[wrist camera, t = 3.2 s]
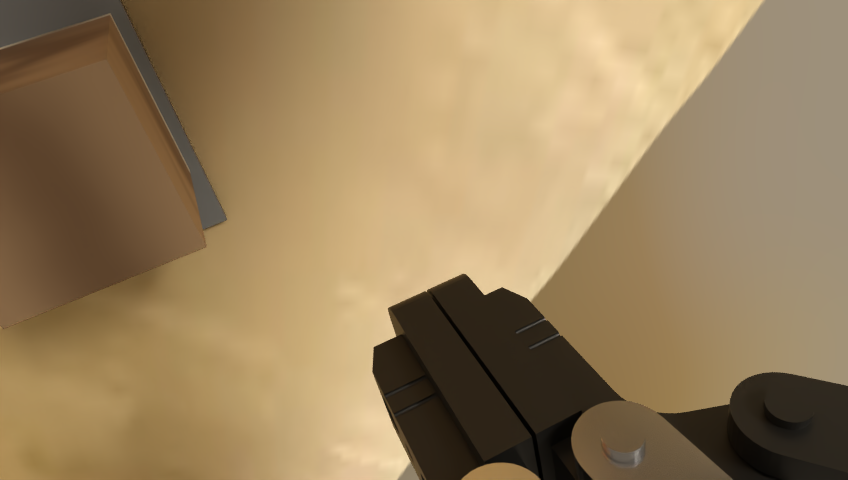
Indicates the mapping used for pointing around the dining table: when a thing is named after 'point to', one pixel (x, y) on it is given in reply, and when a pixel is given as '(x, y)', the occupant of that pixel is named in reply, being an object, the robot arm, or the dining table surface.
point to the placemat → (73, 3)
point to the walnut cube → (84, 171)
